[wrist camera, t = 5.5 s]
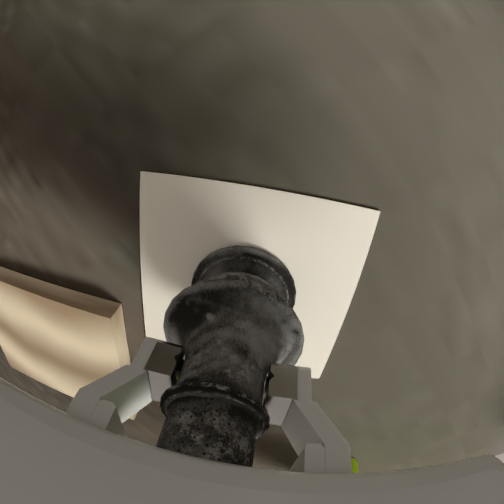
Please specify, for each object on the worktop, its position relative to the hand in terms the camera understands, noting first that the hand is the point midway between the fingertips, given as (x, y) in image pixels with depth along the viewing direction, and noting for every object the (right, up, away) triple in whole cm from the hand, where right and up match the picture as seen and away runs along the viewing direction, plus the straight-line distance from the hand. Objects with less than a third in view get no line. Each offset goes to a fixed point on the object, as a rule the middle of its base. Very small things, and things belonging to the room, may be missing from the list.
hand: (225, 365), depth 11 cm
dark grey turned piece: (+1, +2, +5) cm, 5 cm away
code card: (+1, +2, +5) cm, 5 cm away
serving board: (-14, -2, +9) cm, 17 cm away
